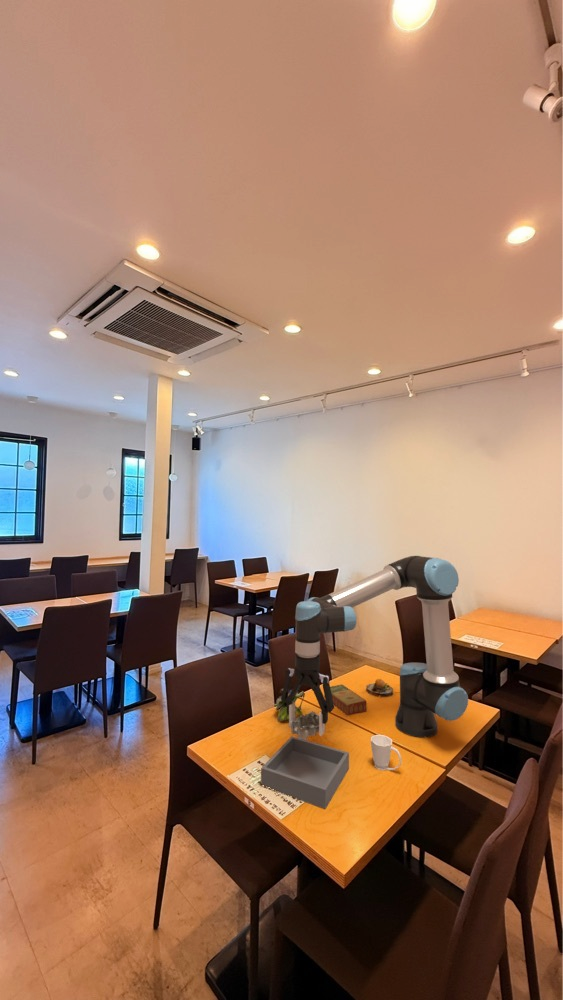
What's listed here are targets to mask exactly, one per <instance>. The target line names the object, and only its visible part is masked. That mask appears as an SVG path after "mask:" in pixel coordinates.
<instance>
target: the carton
mask: <svg viewBox="0 0 563 1000" xmlns="http://www.w3.org/2000/svg"><path fill="white" fill-rule="evenodd" d="M330 689H331V694H332V699H333V703H334V707H336V708H337V709H338V710H339V711H341V712H342V713H343V714H345V715H346V716H347V717H349V716H352V715H353V716H354V715H357V714H361V713H366V712H367V709H368V707H367V705H368V703H367V700H366V699H364V698H363V697H361V696H360V695H359V694H357V693H355V692H354V691H353V690H351V689H349V688H348V687H347V686H346V685H344V684H337V685H333V686H330Z"/></svg>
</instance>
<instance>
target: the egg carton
mask: <svg viewBox="0 0 563 1000" xmlns="http://www.w3.org/2000/svg"><path fill="white" fill-rule="evenodd" d="M289 724H291V727H290V733H291V735H297V738H299V739H303V740H308V739H309V736H312V737H314V736H316V735H317V733H319V713H317V714H316V712H315V711H313V710H311V711H310V712H308V713H307V714H305V715H304V714H303V715H302V716H301V715H300V717H299V716H297V717H295V718H292V719H291V720H290V722H289V721H288V725H289ZM326 724H327V723H326ZM326 724H325V726H326Z"/></svg>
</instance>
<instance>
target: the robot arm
mask: <svg viewBox="0 0 563 1000" xmlns="http://www.w3.org/2000/svg"><path fill="white" fill-rule="evenodd" d="M459 580H460V579H459V573H458V571H457V569H456V567H455V566H454V565H453V564H452V563H451V561H448V560H445V559H441V558H438V557H430V556H421V555H411V556H407V557H403V558H401V559H398V560H396V561H393V562H391V563H389V564H387V565H385V566H384V567H383V569H381V570H379V571H378V572H375V573H373V574H371V575H369V576H366V577H364V578H362V579H360V580H357V581H355V582H353V583H351V584H349V585H346V586H344V587H342V588H340V589H337V590H335V591H334V592H331V593H329V594H326V595H324V596H322V597H318V596H317V597H315V596H314V597H309V599H307V600H305V601H299V602H298V603H297V604H296V607H295V616H294V619H295V644H294V649H295V650H294V652H295V655H294V665H295V668H293V667H291V666H290V667H288V668H287V669H285V681H284V685H283V687H282V689H283V692H282V694H281V695H280V696H281V700H282V701H285V702H286V703H287V714H289V719H288V727H289V728H291V724H289V722H290V720H291V719H292V718H296V711H295V706H296V702H292V701H293V699H294V697H295V696H296V694H297V692H298V693H299V690H300V688H301V686H306V687H309V688H310V689H311V691H312V692H313V694H314V697H315V698H316V701H317V703H318V705H319V708H320V711H319V713H318V715H319V732H318V734H319V736H320V737H322V736H323V735H324V734H325V732H326V725H325V724H327V723H328V721H329V713H332V711H334V709H335V705H334V703H333V699H332V694H331V689H330V687H331V686H330V679H331V677H330V675H329V674H326V675H324V674H323V673H321V671H320V667H321V661H320V660H321V656H320V653H321V634H327V633H328V634H329V633H340V632H342V633H345V632H347V631H352V630H354V629H355V628H356V625H357V614H356V612H355V610H354V608H355V607H356V606H359V605H361V604H363V603H365V602H367V601H370V600H372V599H374V598H376V597H378V596H381V595H383V594H385V593H387V592H389V591H391V590H393V591H394V590H395V591H398V590H400V589H403V588H413V589H415V590H416V591H415V592H416V598H417V599H418V600H419V601H421V607H422V608H421V609H422V621H423V633H424V647H425V659H426V663H424V662H407V663H406V662H405V663H403V664H401V666H400V669H399V705H398V709H397V711H396V714H395V717H394V718H395V719H394V720H395V723H394V724H395V725H394V726H395V727H396V728H397V729H398V730H399V731H400V732H402V733H403V734H405V735H408V736H412V737H416V738H431V737H434V736H435V735H437V734H438V730H439V729H438V728H439V727H438V721H437V718H436V716H437V717H438V718H442V719H443V720H446V721H448V722H453V721H456V720H458V719H460V718H461V717H462V716H463V715H464V713H465V712H466V711H467V708H468V705H469V696H468V693H467V692H466V690H465V689H464V688H463V687H461V685H460V677H459V675H458V674H457V673H456V671H454V662H453V647H452V636H451V635H452V634H451V623H450V622H451V621H450V612H449V611H450V609H449V602H450V601H451V600H452V599H453V594H454V593H455V592H456V590H457V587H458V586H459ZM294 675H295V677H296V681H295V683H294V685H293V688H292V689H291V685H292V681H293V677H294ZM319 680H320V682H321V684H322V689H321V687H320V685H321V684H320V682H319ZM290 690H292V691H291V693H290V695H289V697H288V694H289V691H290ZM322 690H323V692H322Z"/></svg>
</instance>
